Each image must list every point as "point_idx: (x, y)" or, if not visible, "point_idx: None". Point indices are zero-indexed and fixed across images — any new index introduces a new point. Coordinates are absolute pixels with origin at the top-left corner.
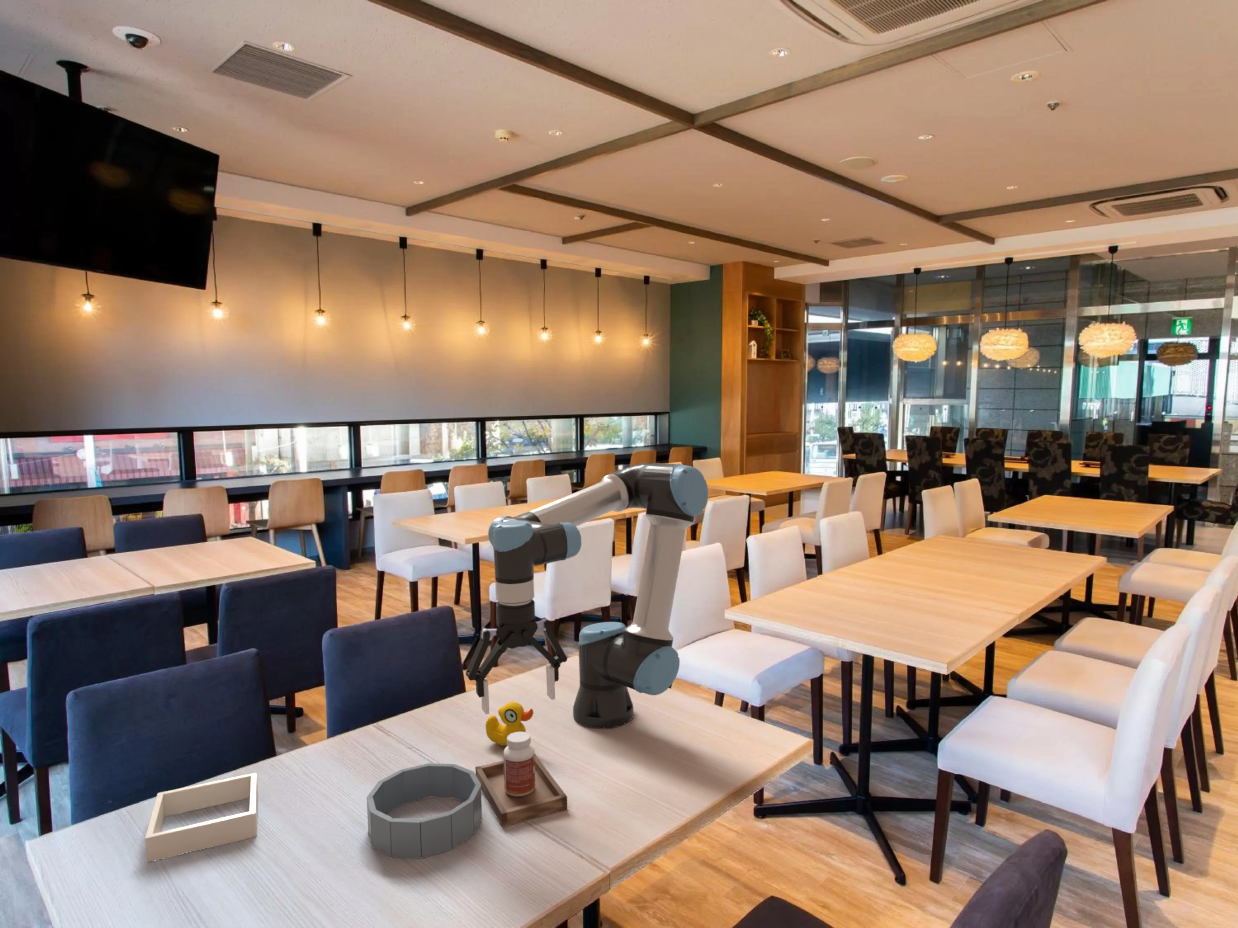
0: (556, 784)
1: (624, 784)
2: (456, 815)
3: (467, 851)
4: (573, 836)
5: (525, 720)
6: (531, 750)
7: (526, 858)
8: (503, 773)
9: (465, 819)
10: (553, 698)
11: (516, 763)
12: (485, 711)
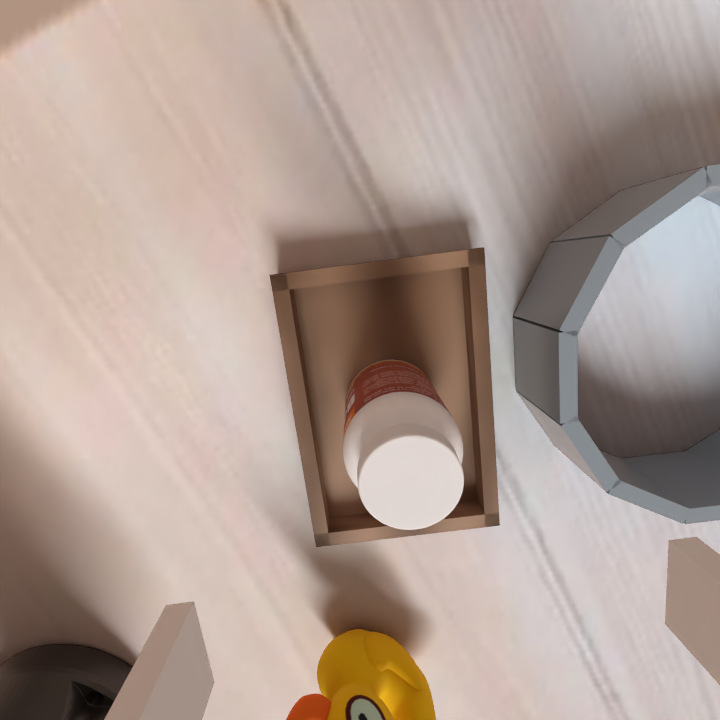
0: (287, 354)
1: (86, 344)
2: (671, 184)
3: (586, 165)
4: (289, 129)
5: (317, 694)
6: (359, 427)
7: (442, 68)
8: None
9: (613, 214)
10: (176, 609)
11: (423, 392)
12: (713, 551)
